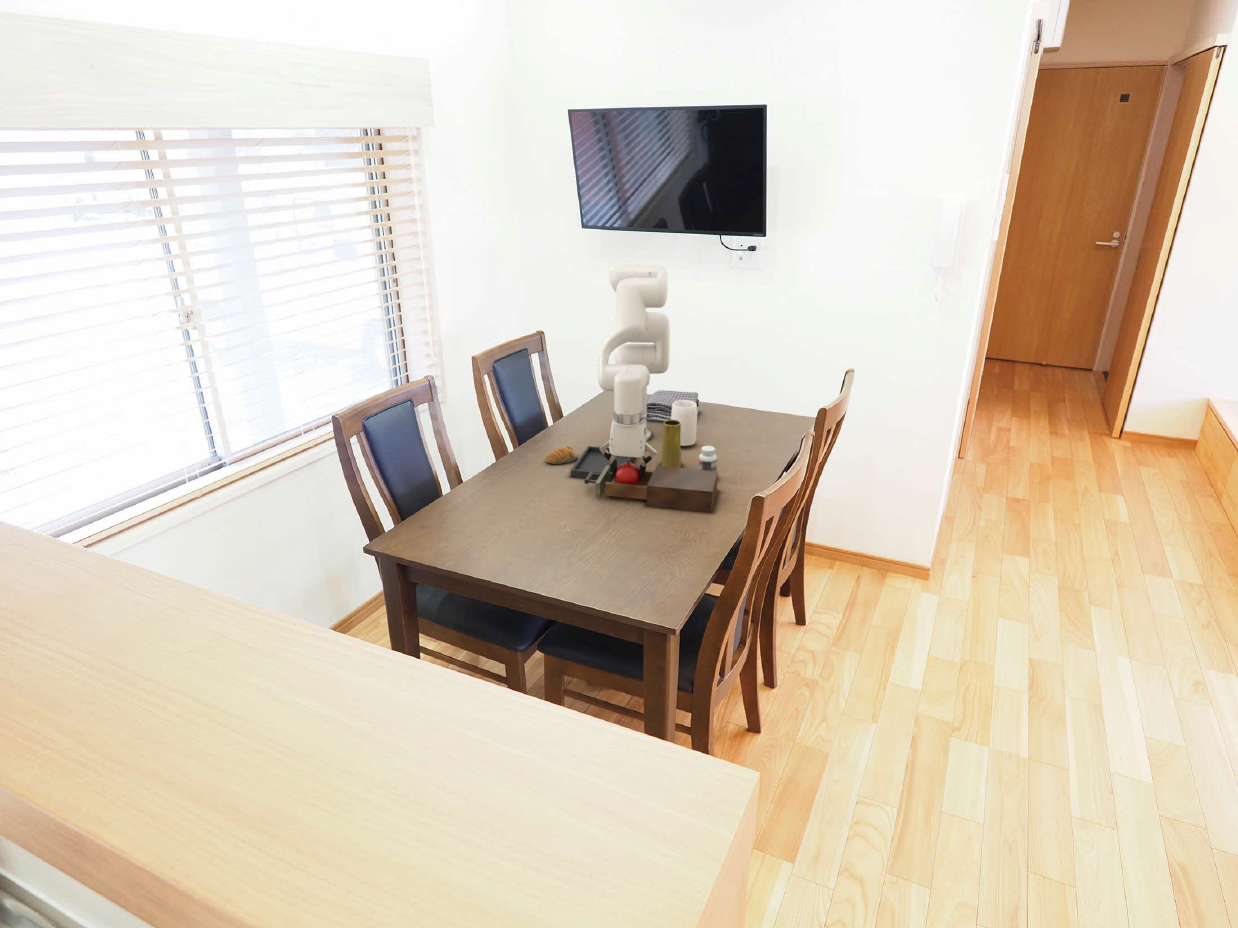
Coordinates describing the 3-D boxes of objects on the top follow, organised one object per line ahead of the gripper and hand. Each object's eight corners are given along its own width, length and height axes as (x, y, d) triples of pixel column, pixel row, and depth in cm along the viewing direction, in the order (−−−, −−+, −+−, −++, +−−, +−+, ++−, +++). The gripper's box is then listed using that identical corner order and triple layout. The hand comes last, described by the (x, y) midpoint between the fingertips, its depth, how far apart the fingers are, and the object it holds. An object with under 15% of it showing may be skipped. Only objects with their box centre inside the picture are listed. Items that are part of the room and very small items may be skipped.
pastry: (553, 467, 241) (553, 456, 240) (541, 461, 246) (541, 449, 244) (578, 460, 246) (578, 448, 245) (566, 453, 251) (565, 442, 250)
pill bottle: (694, 479, 233) (695, 448, 229) (704, 473, 237) (705, 443, 233) (709, 483, 230) (710, 453, 226) (719, 478, 233) (721, 447, 230)
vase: (675, 471, 238) (676, 427, 232) (657, 467, 241) (658, 423, 235) (684, 464, 243) (685, 421, 237) (667, 460, 246) (668, 417, 240)
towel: (652, 407, 292) (652, 387, 289) (701, 411, 287) (702, 391, 284) (642, 421, 278) (642, 400, 275) (693, 426, 274) (694, 404, 271)
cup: (701, 444, 258) (703, 403, 252) (685, 451, 252) (686, 410, 247) (681, 438, 263) (682, 397, 258) (665, 445, 258) (665, 404, 252)
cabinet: (646, 506, 217) (646, 485, 214) (655, 485, 229) (656, 465, 226) (711, 512, 213) (712, 491, 210) (716, 491, 225) (717, 471, 223)
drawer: (581, 495, 221) (580, 481, 219) (592, 477, 232) (592, 463, 230) (653, 502, 216) (654, 488, 215) (662, 484, 228) (662, 470, 226)
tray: (588, 452, 252) (587, 445, 251) (635, 456, 249) (635, 449, 248) (570, 477, 235) (570, 470, 234) (621, 481, 231) (621, 474, 230)
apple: (618, 480, 227) (618, 454, 224) (642, 482, 226) (643, 457, 223) (612, 490, 221) (612, 464, 218) (637, 493, 219) (637, 467, 216)
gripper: (661, 414, 216) (660, 473, 224) (600, 410, 220) (601, 468, 227) (656, 424, 210) (655, 484, 217) (593, 419, 213) (594, 478, 220)
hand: (628, 475), depth 222 cm, fingers closed on apple, 7 cm apart
